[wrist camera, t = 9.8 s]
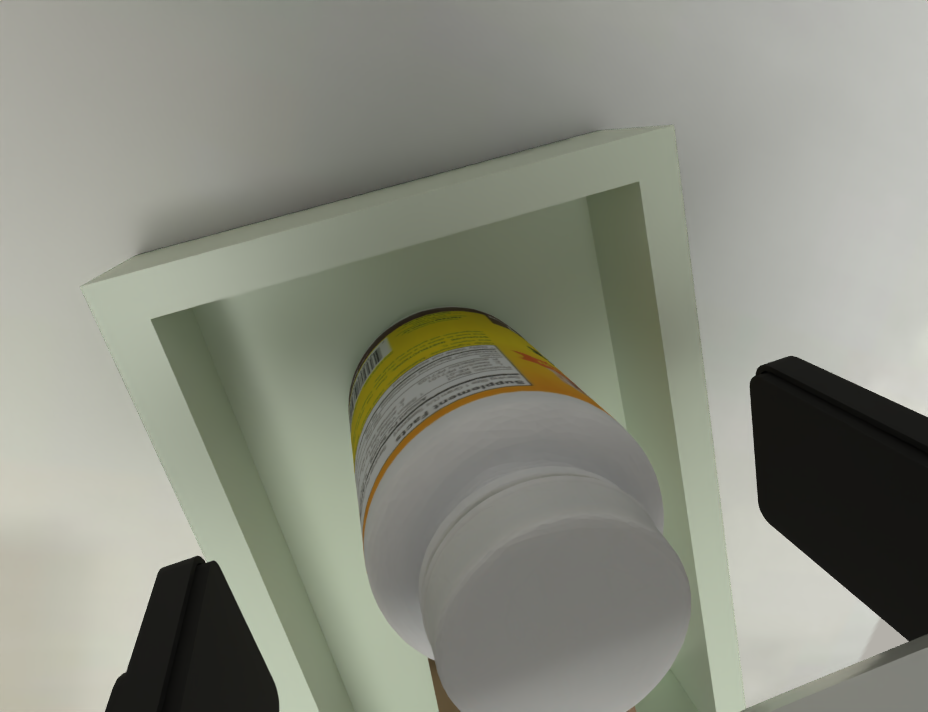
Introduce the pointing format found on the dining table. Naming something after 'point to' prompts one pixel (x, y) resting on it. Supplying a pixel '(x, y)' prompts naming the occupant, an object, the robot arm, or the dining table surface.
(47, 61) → the dining table surface
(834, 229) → the dining table surface
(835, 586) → the dining table surface
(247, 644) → the robot arm
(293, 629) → the tote
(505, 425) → the supplement bottle
